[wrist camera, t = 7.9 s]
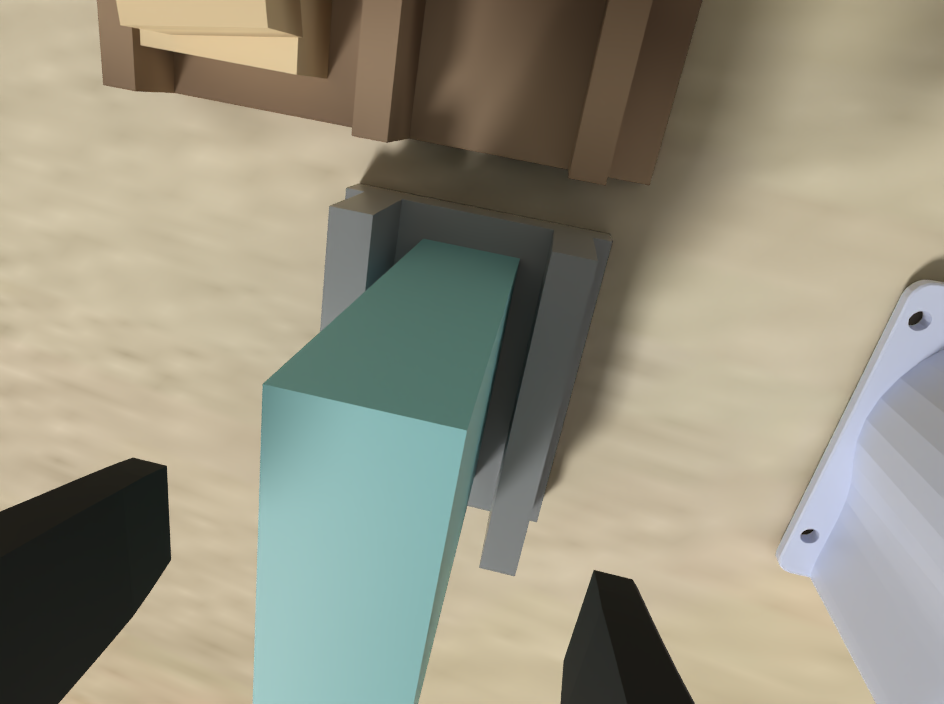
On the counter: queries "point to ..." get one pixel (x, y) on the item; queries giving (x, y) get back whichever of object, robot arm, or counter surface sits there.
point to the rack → (463, 77)
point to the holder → (524, 343)
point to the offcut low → (262, 45)
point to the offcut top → (214, 17)
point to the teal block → (374, 478)
